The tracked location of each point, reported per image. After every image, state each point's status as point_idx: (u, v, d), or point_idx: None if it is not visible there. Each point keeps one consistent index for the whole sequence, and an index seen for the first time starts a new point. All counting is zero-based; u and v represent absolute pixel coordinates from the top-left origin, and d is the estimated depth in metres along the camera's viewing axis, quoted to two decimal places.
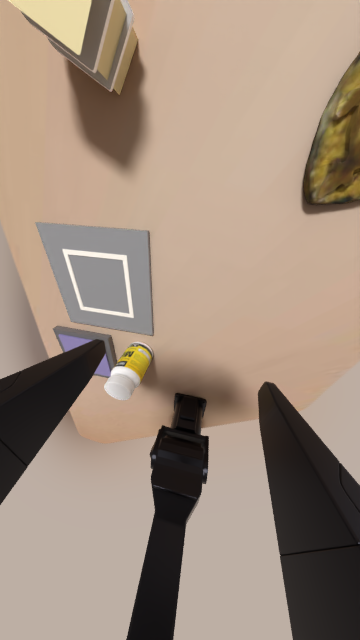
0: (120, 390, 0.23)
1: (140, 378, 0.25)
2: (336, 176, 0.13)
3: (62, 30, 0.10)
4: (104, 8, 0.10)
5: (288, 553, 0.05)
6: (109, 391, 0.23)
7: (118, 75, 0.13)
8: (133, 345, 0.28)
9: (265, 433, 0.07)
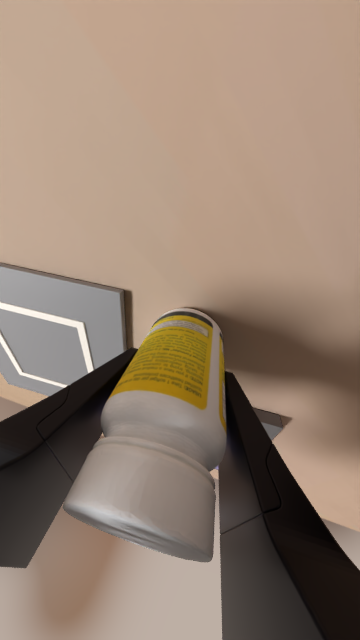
0: (117, 526, 0.04)
1: (160, 388, 0.05)
2: None
3: None
4: None
5: (224, 530, 0.06)
6: (149, 547, 0.05)
7: None
8: None
9: None
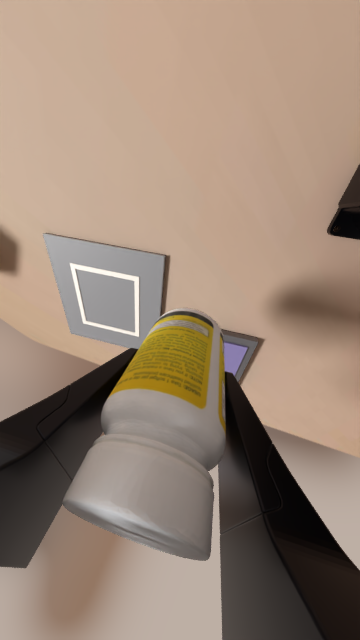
0: (116, 523, 0.04)
1: (159, 387, 0.05)
2: None
3: None
4: None
5: (224, 531, 0.06)
6: (147, 544, 0.05)
7: None
8: None
9: None
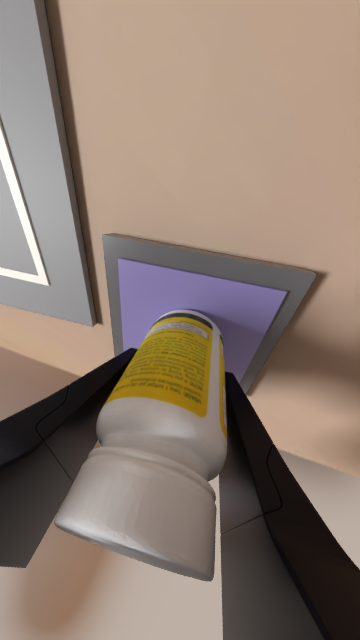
0: (112, 544, 0.04)
1: (158, 395, 0.05)
2: None
3: None
4: None
5: (225, 531, 0.06)
6: (146, 562, 0.05)
7: None
8: None
9: None
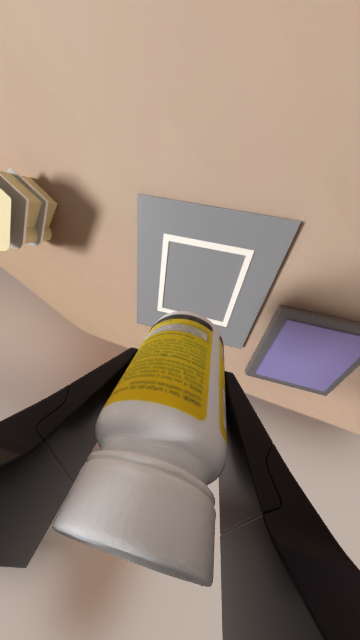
0: (110, 549, 0.04)
1: (157, 398, 0.05)
2: None
3: (5, 208, 0.14)
4: None
5: (225, 531, 0.06)
6: (145, 566, 0.05)
7: (43, 196, 0.17)
8: None
9: None
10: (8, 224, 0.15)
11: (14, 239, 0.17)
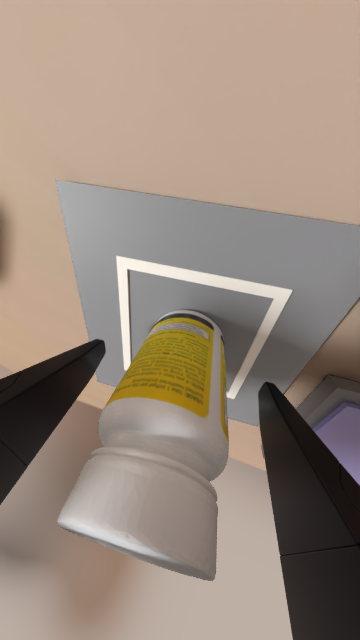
0: (114, 544, 0.04)
1: (159, 395, 0.05)
2: None
3: None
4: None
5: (289, 554, 0.05)
6: (148, 562, 0.05)
7: None
8: None
9: (265, 433, 0.07)
10: None
11: None
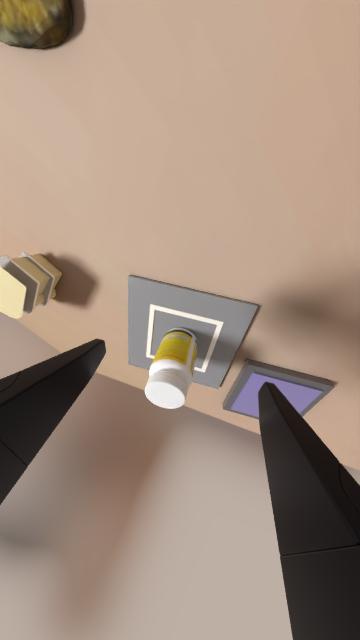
0: (161, 391, 0.15)
1: (171, 358, 0.17)
2: None
3: (21, 292, 0.17)
4: (15, 266, 0.17)
5: (288, 553, 0.05)
6: (167, 405, 0.16)
7: (50, 270, 0.20)
8: None
9: (265, 433, 0.07)
10: (22, 302, 0.18)
11: (25, 307, 0.20)
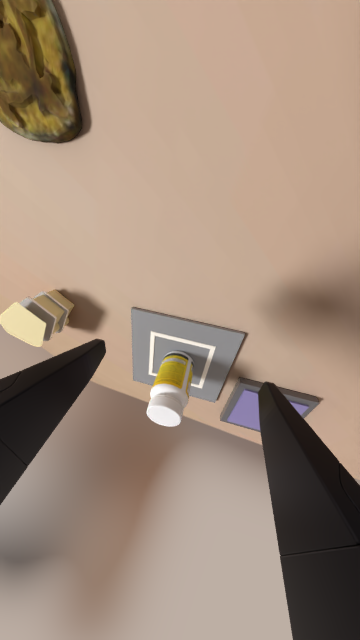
0: (160, 413, 0.18)
1: (169, 383, 0.19)
2: (47, 99, 0.12)
3: (41, 327, 0.21)
4: (36, 305, 0.21)
5: (289, 553, 0.05)
6: (166, 423, 0.19)
7: (65, 303, 0.24)
8: None
9: (265, 433, 0.07)
10: (42, 335, 0.21)
11: (43, 336, 0.23)
